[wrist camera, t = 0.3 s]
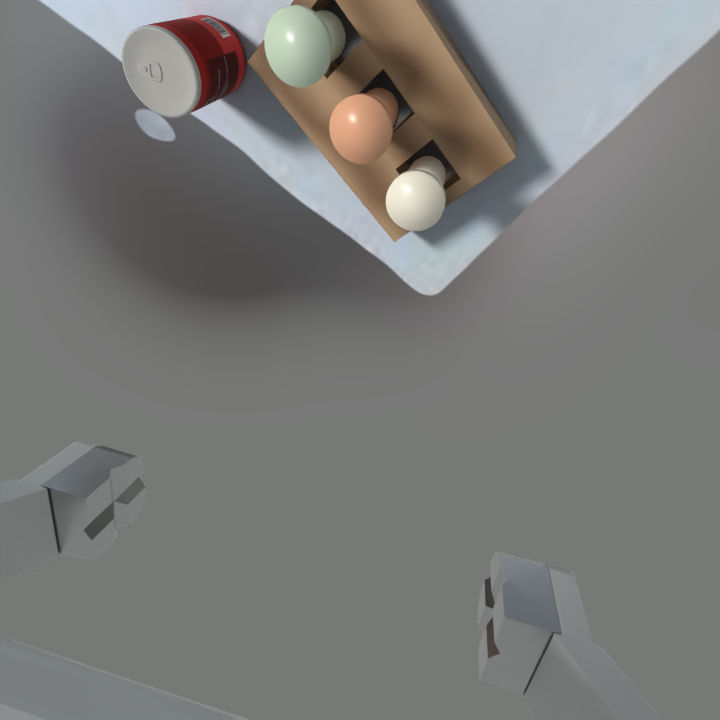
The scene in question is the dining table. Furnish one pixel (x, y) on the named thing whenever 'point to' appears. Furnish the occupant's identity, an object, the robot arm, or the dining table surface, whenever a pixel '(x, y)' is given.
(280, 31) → the sage plunger
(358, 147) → the peach mushroom knob
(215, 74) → the canned food
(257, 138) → the dining table surface
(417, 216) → the cream plunger
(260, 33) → the dining table surface
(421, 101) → the walnut board
